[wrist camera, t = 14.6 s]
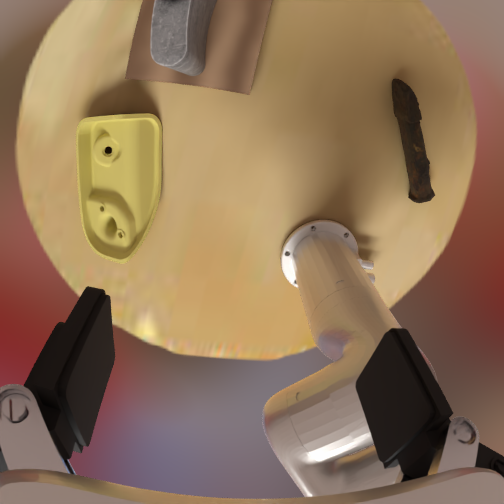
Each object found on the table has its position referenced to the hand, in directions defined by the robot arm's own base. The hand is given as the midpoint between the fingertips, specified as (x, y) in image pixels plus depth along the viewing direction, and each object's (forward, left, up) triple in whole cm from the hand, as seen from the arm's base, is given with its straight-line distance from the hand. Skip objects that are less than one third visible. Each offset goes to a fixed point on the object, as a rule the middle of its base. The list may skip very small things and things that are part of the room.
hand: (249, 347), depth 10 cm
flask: (+8, -16, -34) cm, 38 cm away
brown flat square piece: (+8, -16, -36) cm, 40 cm away
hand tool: (-24, -7, -37) cm, 44 cm away
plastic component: (+16, +7, -37) cm, 41 cm away
